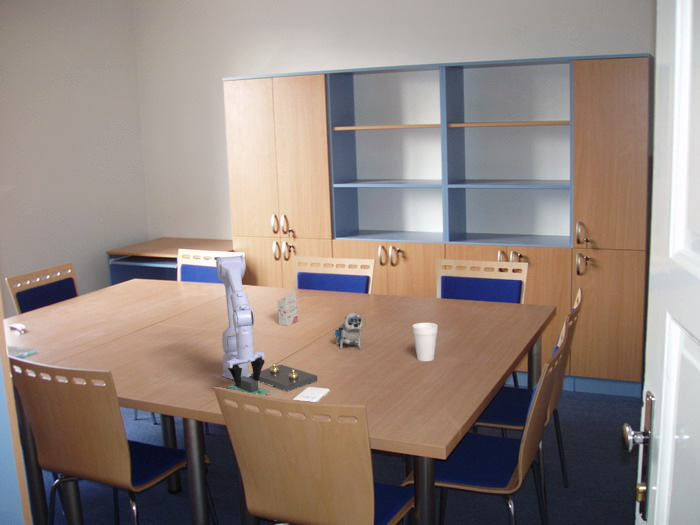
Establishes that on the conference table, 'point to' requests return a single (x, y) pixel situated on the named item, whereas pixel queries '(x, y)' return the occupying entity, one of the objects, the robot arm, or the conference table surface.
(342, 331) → the robotic toy
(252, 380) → the board
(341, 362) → the conference table surface
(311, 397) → the external hard drive
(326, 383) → the conference table surface
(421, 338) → the foam cup
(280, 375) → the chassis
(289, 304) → the ink cartridge box
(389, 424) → the conference table surface
